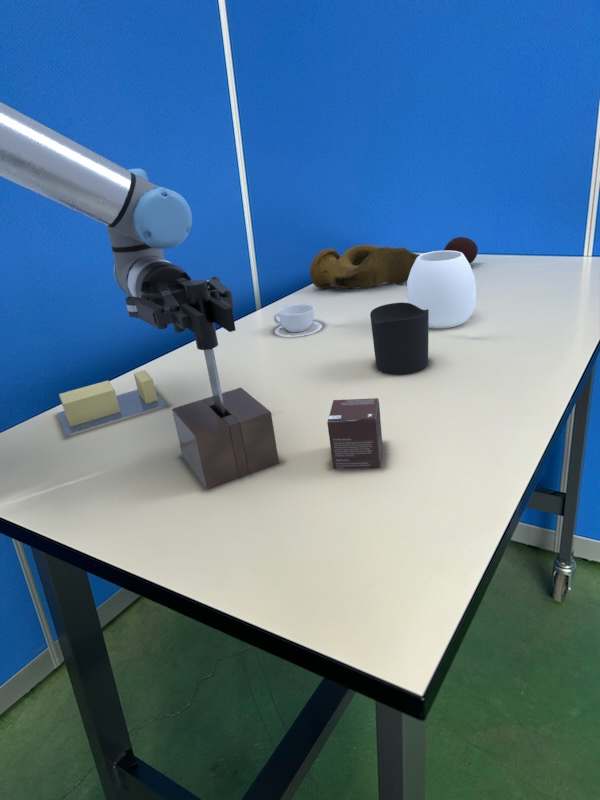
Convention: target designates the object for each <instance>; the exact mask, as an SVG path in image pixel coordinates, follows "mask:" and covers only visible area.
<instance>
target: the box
mask: <svg viewBox="0 0 600 800" xmlns="http://www.w3.org/2000/svg"><path fill="white" fill-rule="evenodd" d="M326 422H327V430H328V431H327V433H328V437H329V444H330V453H331V461H332V467H333V469H334V470H349V469H350V470H353V469H354V470H358V469H360V470H361V469H362V470H363V469H381V468H382V457H383V445H384V444H383V434H382V423H381V422H382V421H381V408H380V400H379V398H378V397H375V398H355V399H354V398H352V399H333V401H332V404H331V408H330V411H329V415H328V419H327V421H326Z"/></svg>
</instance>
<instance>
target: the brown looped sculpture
mask: <svg viewBox="0 0 600 800" xmlns="http://www.w3.org/2000/svg"><path fill="white" fill-rule="evenodd" d="M419 255H420V254H418V253H414V252H412V251H410V250H409V249H407V248H406V247H404V246H403V247H390V246H383V247H382V246H378V245H374V244H373V245H372V244H358V245H354V246H352V247H349V248H348V249H346V250H345V251H344V252H343V253H342V254H341V255H340V254H339V252H338V251H337V250H336V249H334V248H325V249H323V250H321V251H319V252H318V253H316V255H315V256H314V257H313V259H312V260H311V263H310V268H309V277H310V280H311V283H312V284H313V286H314V287H316V288H318V289H321V290H322V289H326V288H329V287H330V286H334V287H335V288H341V289H353V288H364V289H370V288H373V287H374V286H378V285H381V284H388V283H389V284H394V285H397V286H399V285H402V284H404V283H406V282H407V280H408V277H409V274H410V271H411V268H412V266H413V264H414V262H415V260H416V258H417V257H418V256H419Z"/></svg>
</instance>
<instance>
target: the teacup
mask: <svg viewBox="0 0 600 800" xmlns="http://www.w3.org/2000/svg"><path fill="white" fill-rule="evenodd" d="M277 317H278V318H279V320H278V319H277ZM314 319H315V306H314V305H312V304H309V303H295V304H289V305H287V306H284V307H281V308H279V310H278V311H277V313H275V314H274V315H273V321H274V323H275V324H277V325H278V327H276V328H275V329H274V334H275V335H277V336H280V337H283V338H284V337H285V338H296V337H304V336H308V335H312V334H315V333H317V332H318V331H320V330H321V329H322V328H323V325H322V324H321V322H319V321H314ZM312 324H314V325H316V326H317V328H315V330H312V331H310V332H306V331H308V330H309V329H310V328H311V327H312ZM279 325H280V326H279ZM282 328H284V329H285V330H286V331H287V332H289V333H301V332H306V333H302V334H296V335H293V334H292V335H291V334H290V335H289V334H283V333H281V332H280V330H281V329H282Z"/></svg>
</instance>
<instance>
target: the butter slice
mask: <svg viewBox="0 0 600 800" xmlns="http://www.w3.org/2000/svg"><path fill="white" fill-rule="evenodd" d="M133 377H134V380H135V385H136V390H138V393H139V395H140V396H141V398H142V399H143V400H144V402H145V403H146V404H148V403H152V402H155V401H158V399H157V395H156V393H157V392H156V386H155V383H154V379H153V378H152V376H151V375H150V374H149V373H148V371H146V370H145V369H144V370H140V371H137V372H134V373H133Z"/></svg>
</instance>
